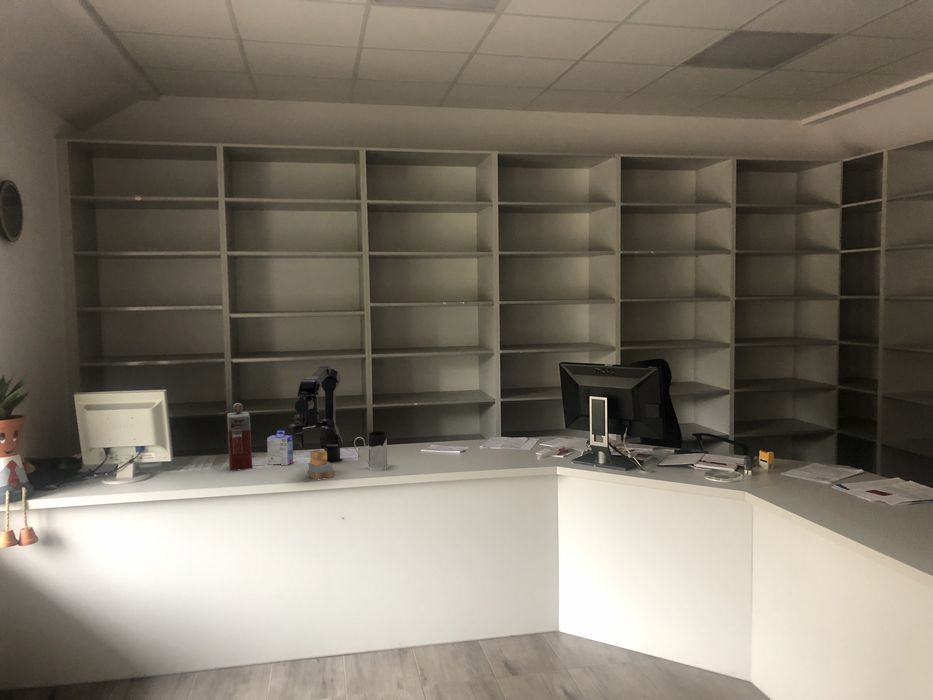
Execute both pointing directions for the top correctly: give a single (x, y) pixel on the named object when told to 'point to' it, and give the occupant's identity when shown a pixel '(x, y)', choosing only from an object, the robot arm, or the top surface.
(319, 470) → the tower top
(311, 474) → the tower base
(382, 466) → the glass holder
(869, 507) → the top surface
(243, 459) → the red and grey bottle
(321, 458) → the orange cube
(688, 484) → the top surface
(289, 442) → the ink cartridge box
